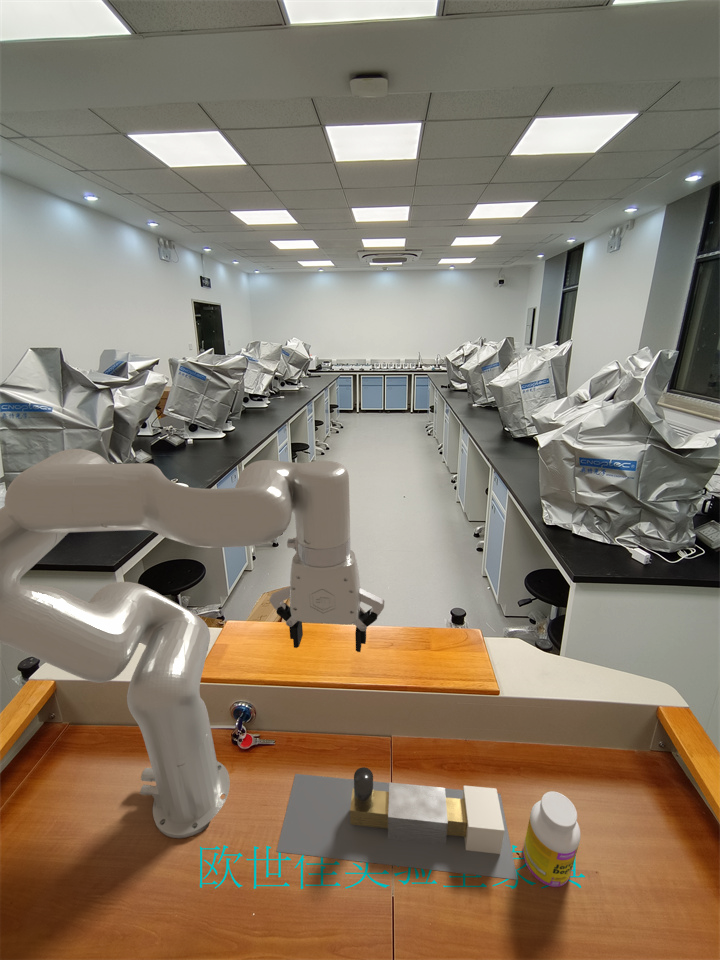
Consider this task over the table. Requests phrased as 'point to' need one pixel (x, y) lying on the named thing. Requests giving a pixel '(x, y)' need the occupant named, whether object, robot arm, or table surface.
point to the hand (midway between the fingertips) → (328, 643)
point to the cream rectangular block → (483, 820)
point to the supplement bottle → (552, 839)
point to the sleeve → (417, 813)
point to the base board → (375, 833)
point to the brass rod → (374, 806)
